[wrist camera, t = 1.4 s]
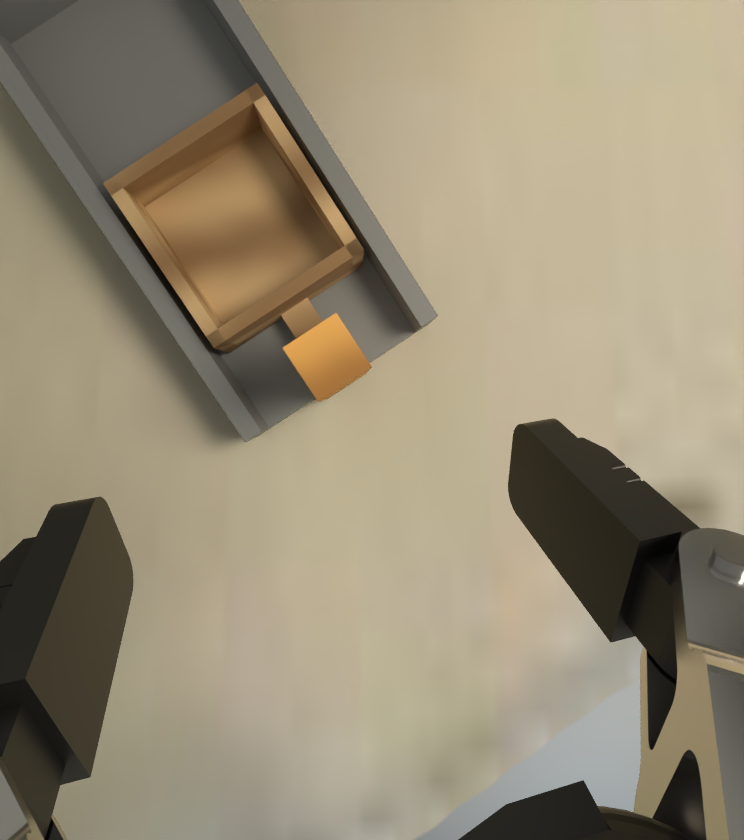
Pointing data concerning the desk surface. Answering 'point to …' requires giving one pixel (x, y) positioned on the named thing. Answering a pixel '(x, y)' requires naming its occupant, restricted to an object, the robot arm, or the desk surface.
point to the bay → (164, 119)
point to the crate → (247, 235)
